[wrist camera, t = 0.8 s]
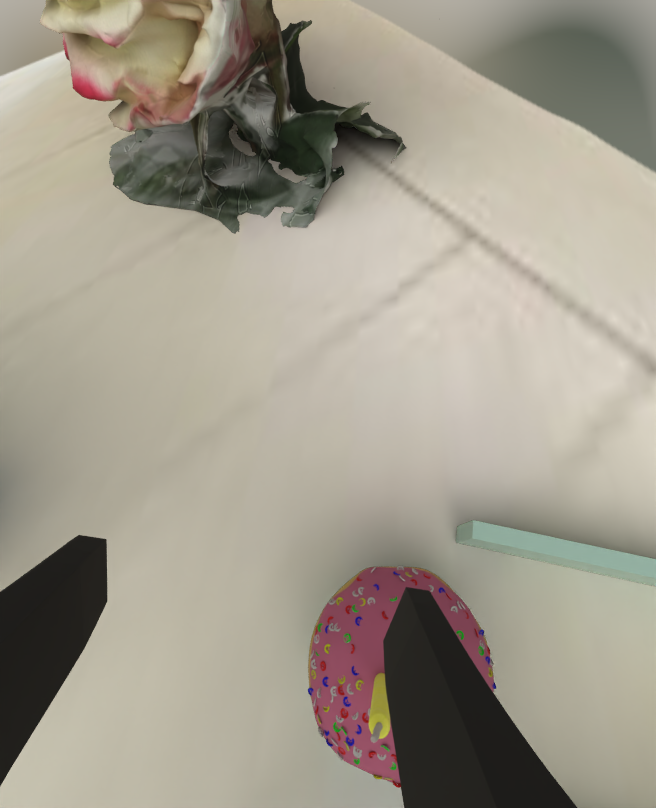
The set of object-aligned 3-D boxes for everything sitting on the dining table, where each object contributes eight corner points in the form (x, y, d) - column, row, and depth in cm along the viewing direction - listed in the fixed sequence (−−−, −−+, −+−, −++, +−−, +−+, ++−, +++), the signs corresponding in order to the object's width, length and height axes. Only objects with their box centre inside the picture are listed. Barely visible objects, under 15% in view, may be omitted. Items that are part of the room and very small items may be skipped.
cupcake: (334, 766, 20) (343, 997, 9) (294, 590, 23) (265, 602, 12) (486, 708, 21) (661, 854, 10) (427, 548, 24) (509, 524, 13)
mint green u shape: (788, 942, 17) (875, 1010, 15) (434, 840, 19) (452, 885, 16) (722, 583, 23) (774, 584, 21) (457, 526, 25) (473, 520, 22)
